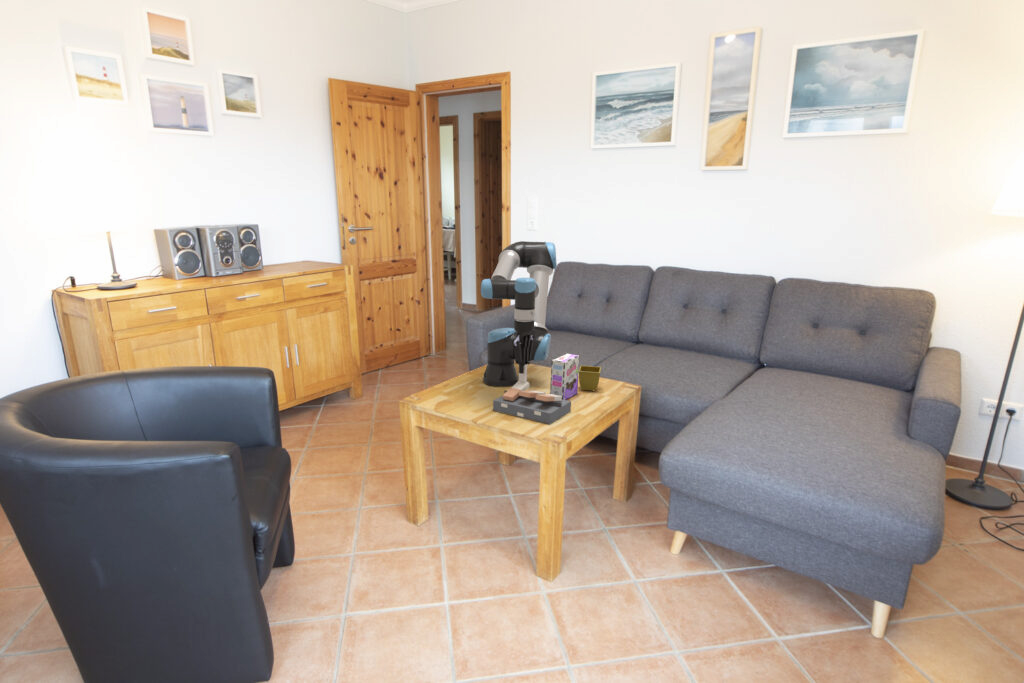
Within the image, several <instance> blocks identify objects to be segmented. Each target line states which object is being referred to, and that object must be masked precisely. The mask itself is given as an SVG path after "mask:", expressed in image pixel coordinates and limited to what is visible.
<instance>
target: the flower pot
mask: <svg viewBox="0 0 1024 683" xmlns="http://www.w3.org/2000/svg"><path fill="white" fill-rule="evenodd" d="M579 366H580V367H579V370H578V384H579V386H580V388H581V390H582V391H584V390H595V391H596V390H597V388H598V385H599V383H600V381H599V380H600V376H601V371H602V367H601V366H592V365H591V366H590V365H579Z"/></svg>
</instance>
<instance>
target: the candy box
mask: <svg viewBox="0 0 1024 683" xmlns="http://www.w3.org/2000/svg"><path fill="white" fill-rule="evenodd" d="M579 366H580V355H577V354H572V353H565V354H563V355H561V356H557V357H556V358H554V359H551V367H550V369H551V370H550V373H551V374H550V388H549V391H550V392H549V394H554V395H558V396H562V399H563V400H567V401H568V400H569V399H571V398H572V397H575V395H577V394H578V393H579V392H578V391H579V390H578V388H579V387H578V386H579V369H580V367H579Z"/></svg>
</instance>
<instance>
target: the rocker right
mask: <svg viewBox="0 0 1024 683" xmlns="http://www.w3.org/2000/svg"><path fill="white" fill-rule="evenodd" d="M536 399H538V400H542V401H561V400H562V396H558V395H554V394H550V393H549V394H548V393H545V394H539V395H536Z"/></svg>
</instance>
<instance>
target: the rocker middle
mask: <svg viewBox="0 0 1024 683" xmlns="http://www.w3.org/2000/svg"><path fill="white" fill-rule="evenodd" d="M539 394H546V392H544V391H538V390H525V391H519V396H524V397H529V398H533V397H536V395H539Z"/></svg>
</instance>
